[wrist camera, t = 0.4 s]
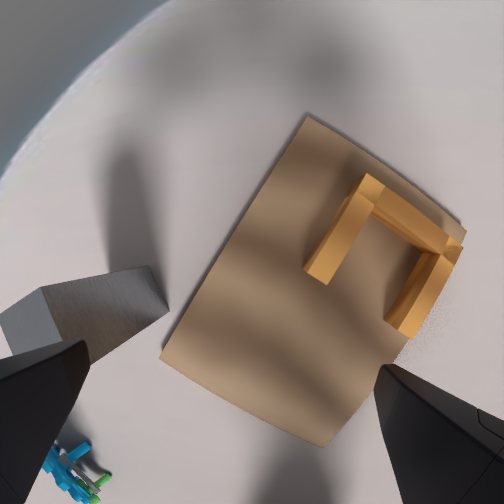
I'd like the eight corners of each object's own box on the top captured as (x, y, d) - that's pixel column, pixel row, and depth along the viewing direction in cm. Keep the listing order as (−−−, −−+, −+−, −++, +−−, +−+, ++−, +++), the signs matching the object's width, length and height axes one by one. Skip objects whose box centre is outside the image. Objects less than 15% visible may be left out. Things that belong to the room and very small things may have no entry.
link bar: (169, 311, 24) (78, 373, 11) (130, 328, 24) (30, 390, 11) (148, 265, 24) (40, 287, 11) (110, 285, 24) (-3, 316, 11)
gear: (21, 422, 24) (19, 453, 17) (56, 399, 28) (63, 423, 20) (80, 487, 26) (99, 527, 18) (111, 464, 29) (137, 499, 22)
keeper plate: (321, 441, 24) (327, 468, 20) (162, 354, 24) (144, 372, 20) (460, 231, 22) (487, 230, 18) (306, 121, 23) (312, 99, 19)
